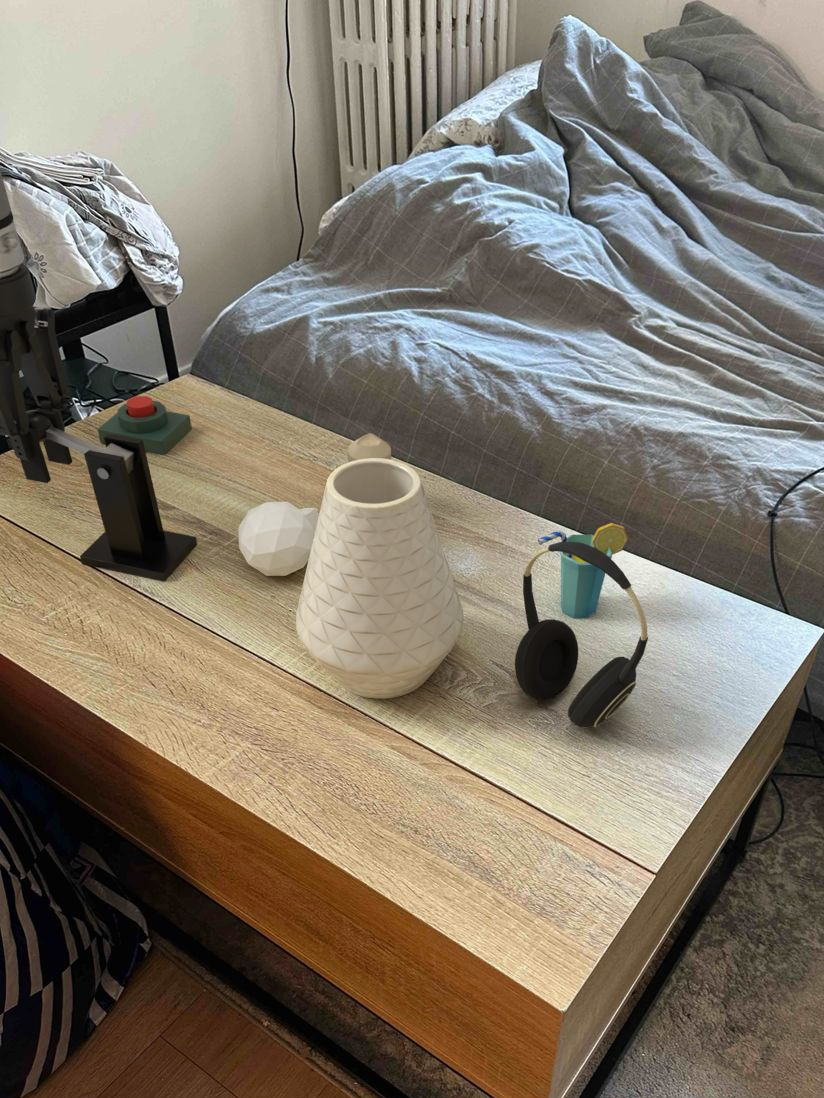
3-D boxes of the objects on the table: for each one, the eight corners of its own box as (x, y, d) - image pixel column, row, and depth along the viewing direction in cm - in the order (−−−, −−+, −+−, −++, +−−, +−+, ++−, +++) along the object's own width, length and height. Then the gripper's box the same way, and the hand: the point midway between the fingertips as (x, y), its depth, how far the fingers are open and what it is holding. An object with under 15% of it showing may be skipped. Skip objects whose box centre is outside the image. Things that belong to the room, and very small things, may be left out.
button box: (100, 443, 137) (94, 417, 135) (130, 417, 143) (124, 392, 140) (164, 455, 136) (159, 429, 133) (192, 428, 141) (187, 403, 139)
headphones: (602, 762, 96) (630, 605, 83) (491, 692, 103) (499, 536, 90) (650, 718, 101) (684, 563, 88) (541, 653, 108) (556, 500, 95)
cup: (544, 637, 110) (553, 551, 102) (519, 606, 114) (525, 521, 106) (626, 611, 114) (641, 527, 106) (599, 582, 118) (611, 498, 110)
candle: (356, 493, 131) (351, 426, 124) (396, 497, 130) (394, 430, 124) (347, 516, 127) (342, 448, 120) (388, 520, 126) (386, 452, 120)
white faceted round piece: (295, 590, 111) (349, 548, 121) (271, 516, 107) (329, 478, 116) (237, 590, 115) (293, 549, 124) (211, 518, 111) (272, 481, 120)
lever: (11, 440, 109) (9, 414, 107) (30, 426, 112) (29, 399, 109) (119, 486, 110) (120, 460, 107) (136, 470, 112) (137, 445, 110)
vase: (430, 738, 98) (429, 552, 82) (273, 698, 101) (244, 511, 85) (482, 633, 110) (490, 454, 95) (341, 600, 113) (327, 422, 98)
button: (123, 416, 136) (121, 405, 135) (137, 405, 139) (134, 394, 137) (147, 420, 135) (144, 409, 134) (160, 409, 138) (157, 398, 137)
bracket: (81, 564, 116) (48, 455, 106) (117, 528, 122) (89, 422, 112) (165, 581, 115) (139, 472, 105) (197, 544, 120) (176, 438, 110)
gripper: (-35, 302, 91) (35, 513, 107) (67, 245, 103) (117, 442, 119) (-104, 291, 92) (-25, 501, 108) (5, 236, 104) (62, 432, 120)
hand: (49, 470), depth 113 cm, fingers closed on lever, 4 cm apart
